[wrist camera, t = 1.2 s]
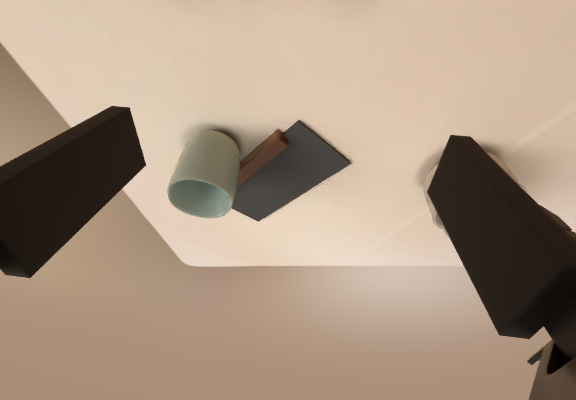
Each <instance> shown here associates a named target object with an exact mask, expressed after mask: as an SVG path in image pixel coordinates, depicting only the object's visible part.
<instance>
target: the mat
mask: <svg viewBox="0 0 576 400" xmlns="http://www.w3.org/2000/svg"><path fill="white" fill-rule="evenodd" d="M283 136H284V137H286V138H287V139H288V140H289V142H288V147H287V148H285V149H284V150H283V151H282V152H280V153H279V154H278V155H277V156H275V157H274V158H273V159H272V160H271V161H269V162H268V163H267V164H266V165H264V166H263V167H262V168H261V169H259V170H258V171H257V172H256V173H254V174H253V175H252V176H251V177H249V178H248V179H247V180H246V181H244V182H243V183H242V184H241V185H239V186H238V187H237V189H236V194H235V198H234V202H233V206H232V209H234V210H236V211H238V212H240V213H242V214H244V215H246V216H248V217H250V218H252V219H254V220H256V221H260V220H262V219H263V218H265V217H266V216H268V215H270V214H271V213H273V212H274V211H276V210H278V209H279V208H281V207H282V206H284V205H286V204H287V203H289V202H290V201H292V200H294V199H295V198H297V197H298V196H300V195H302V194H303V193H305V192H306V191H308V190H310V189H311V188H313V187H314V186H316V185H318V184H319V183H321V182H322V181H324V180H325V179H327V178H329V177H330V176H332V175H333V174H335V173H337V172H338V171H340V170H341V169H343V168H345V167H346V166H348V165H349V164H351V163H350V161H349V160H348V159H347V158H345V157H344V156H343V155H342V154H340V153H339V152H338V151H337V150H335V149H334V148H333V147H332V146H331V145H329V144H328V143H327V142H326V141H324V140H323V139H322V138H321V137H319V136H318V135H317V134H316V133H314V132H313V131H312V130H311V129H310V128H308V127H307V126H306V125H305V124H303V123H302V122H301V121H300V120H299V121H297V122H296V123H295V124H294V125H293V126H292V127H290V128H289V129H288V130H287V131H286V132H285V133H283Z"/></svg>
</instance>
